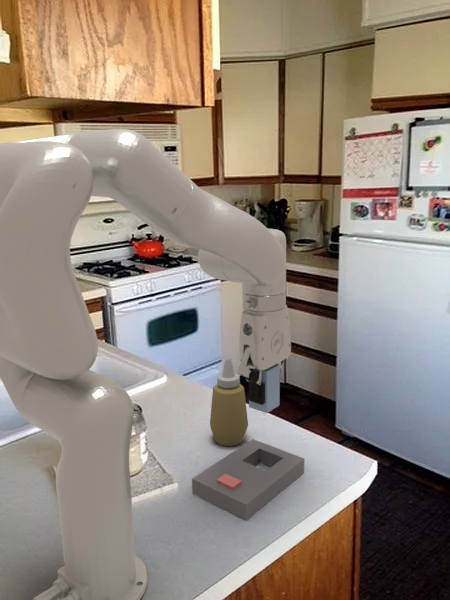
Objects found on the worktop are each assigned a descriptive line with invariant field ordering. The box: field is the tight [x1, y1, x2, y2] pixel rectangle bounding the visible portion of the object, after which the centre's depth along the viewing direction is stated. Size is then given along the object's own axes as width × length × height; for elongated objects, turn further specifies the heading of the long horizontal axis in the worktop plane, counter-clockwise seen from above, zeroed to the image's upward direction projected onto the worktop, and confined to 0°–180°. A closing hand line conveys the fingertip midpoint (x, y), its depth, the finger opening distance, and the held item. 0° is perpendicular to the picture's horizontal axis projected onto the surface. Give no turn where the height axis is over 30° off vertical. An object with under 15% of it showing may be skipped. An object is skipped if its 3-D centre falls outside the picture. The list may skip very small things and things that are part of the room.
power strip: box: [191, 438, 305, 521], centre depth 101 cm, size 18×12×4 cm, turn 141°
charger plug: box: [248, 364, 281, 414], centre depth 100 cm, size 4×4×8 cm
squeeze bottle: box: [209, 358, 249, 447], centre depth 115 cm, size 8×8×18 cm
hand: (264, 396), depth 101 cm, fingers closed on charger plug, 4 cm apart
